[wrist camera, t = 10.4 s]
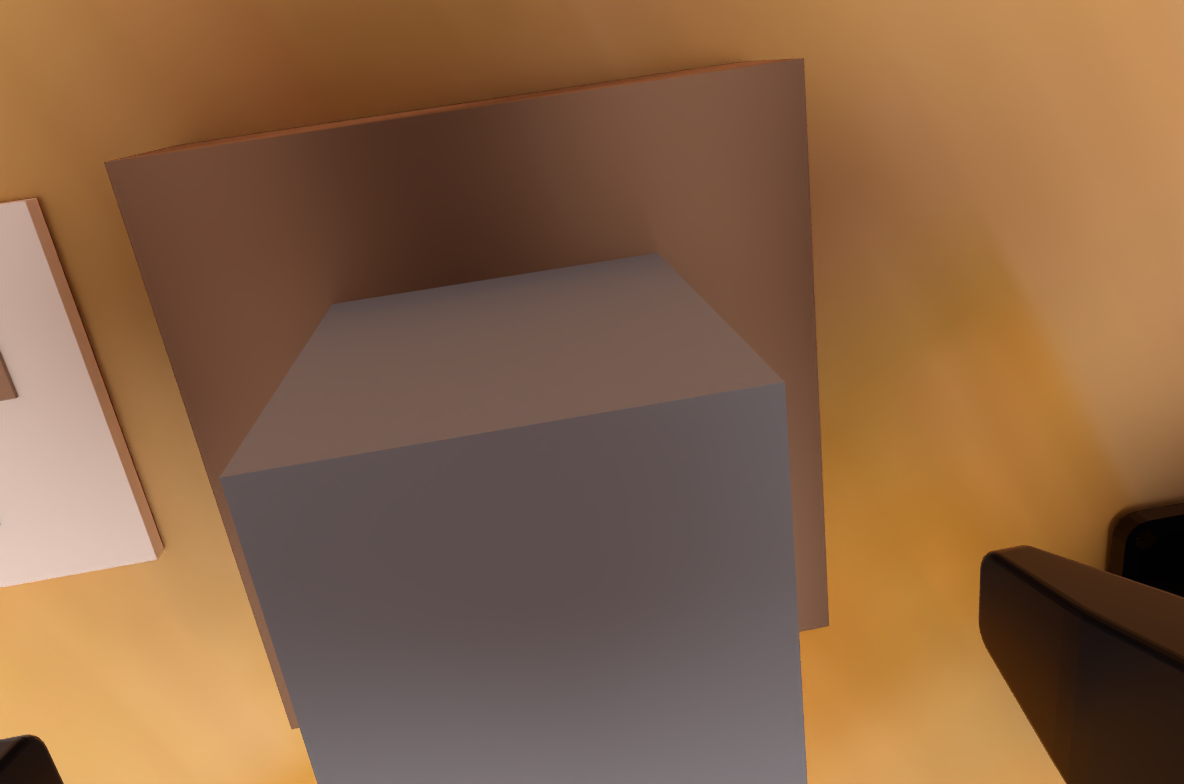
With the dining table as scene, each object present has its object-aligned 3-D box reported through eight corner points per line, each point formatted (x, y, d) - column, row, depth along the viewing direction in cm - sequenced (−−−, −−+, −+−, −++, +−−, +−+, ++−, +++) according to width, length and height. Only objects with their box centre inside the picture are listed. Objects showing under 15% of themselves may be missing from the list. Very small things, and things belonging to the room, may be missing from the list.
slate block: (657, 252, 13) (785, 381, 8) (687, 533, 15) (808, 804, 10) (332, 304, 13) (218, 477, 7) (402, 584, 15) (353, 895, 9)
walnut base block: (745, 60, 15) (803, 58, 13) (777, 544, 19) (829, 626, 16) (175, 145, 15) (104, 162, 12) (320, 629, 18) (291, 729, 16)
